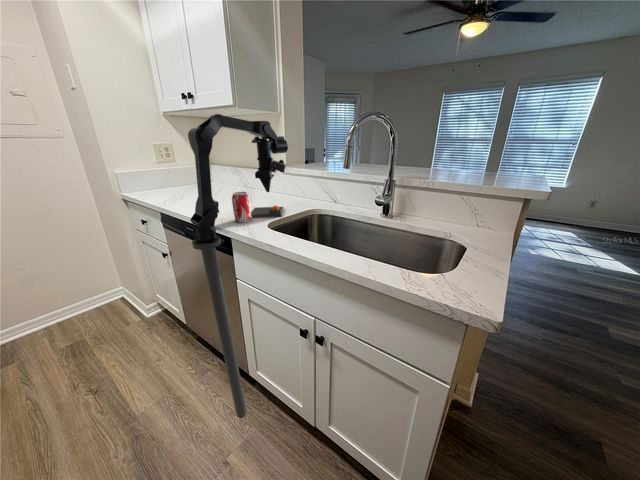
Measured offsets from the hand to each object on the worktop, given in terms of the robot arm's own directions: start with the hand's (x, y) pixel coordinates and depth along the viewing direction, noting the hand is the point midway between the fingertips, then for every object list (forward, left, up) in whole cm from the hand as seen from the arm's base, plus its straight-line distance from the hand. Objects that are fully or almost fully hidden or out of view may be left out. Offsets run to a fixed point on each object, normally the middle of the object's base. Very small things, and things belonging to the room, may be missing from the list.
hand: (268, 192), depth 113 cm
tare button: (+3, +1, -8) cm, 9 cm away
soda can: (-11, -5, -11) cm, 16 cm away
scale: (-2, +5, -11) cm, 12 cm away
